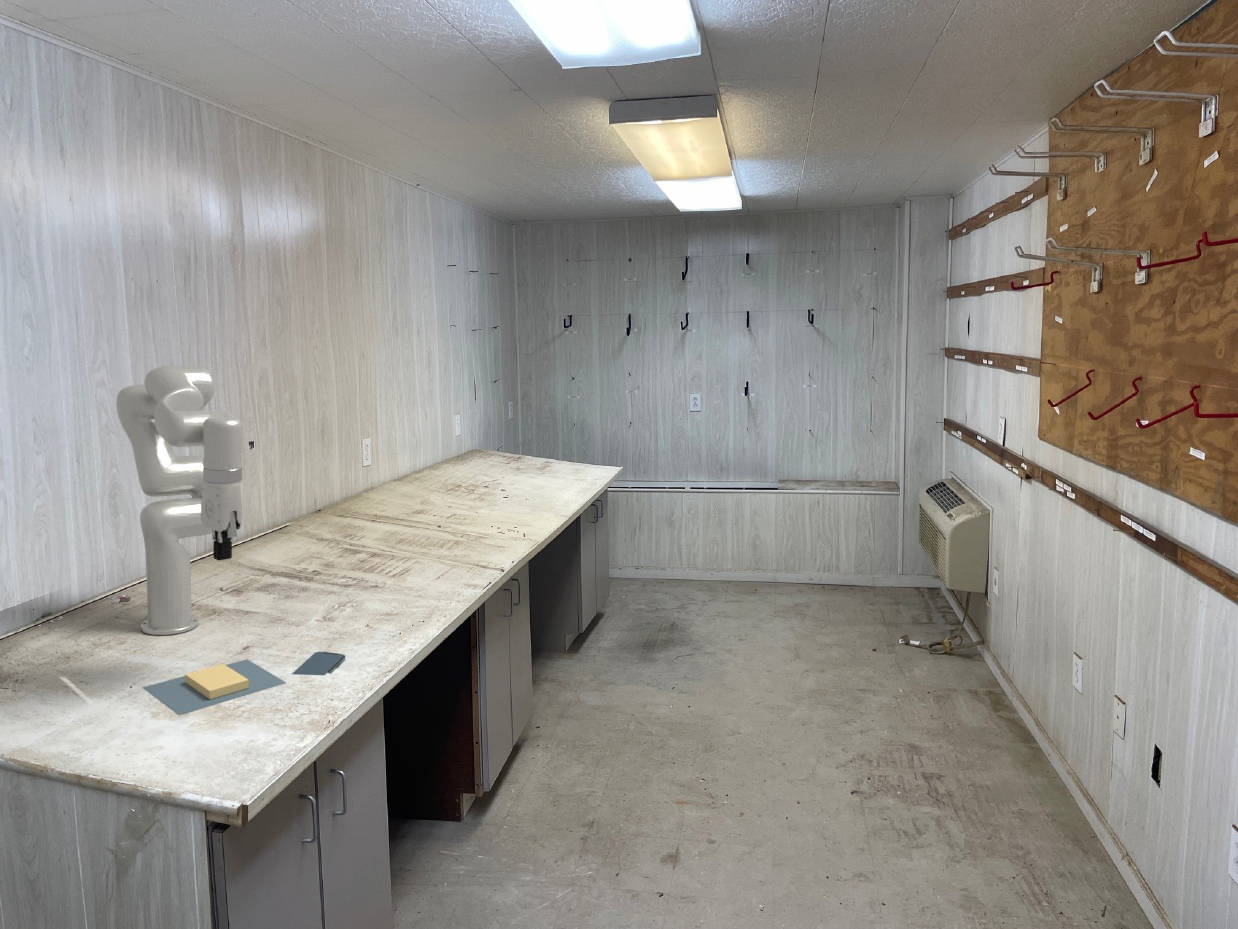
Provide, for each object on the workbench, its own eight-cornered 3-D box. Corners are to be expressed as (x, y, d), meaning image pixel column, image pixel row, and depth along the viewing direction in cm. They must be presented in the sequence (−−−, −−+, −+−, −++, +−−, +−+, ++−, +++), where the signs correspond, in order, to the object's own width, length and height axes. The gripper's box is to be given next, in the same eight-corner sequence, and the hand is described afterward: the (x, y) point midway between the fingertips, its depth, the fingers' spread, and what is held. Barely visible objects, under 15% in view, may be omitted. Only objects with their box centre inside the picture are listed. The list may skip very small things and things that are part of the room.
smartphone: (284, 679, 182) (315, 650, 196) (284, 686, 182) (315, 657, 197) (318, 682, 181) (347, 653, 196) (318, 689, 181) (347, 660, 196)
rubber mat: (142, 691, 174) (142, 687, 174) (247, 662, 191) (247, 659, 190) (179, 719, 163) (179, 715, 163) (286, 686, 180) (286, 682, 180)
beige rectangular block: (185, 674, 176) (209, 691, 170) (223, 664, 183) (248, 679, 176) (185, 683, 177) (210, 700, 170) (223, 672, 183) (248, 688, 176)
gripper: (189, 470, 181) (189, 552, 184) (220, 484, 171) (220, 571, 175) (224, 466, 186) (224, 547, 190) (257, 480, 177) (256, 564, 180)
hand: (222, 558), depth 182 cm, fingers closed
